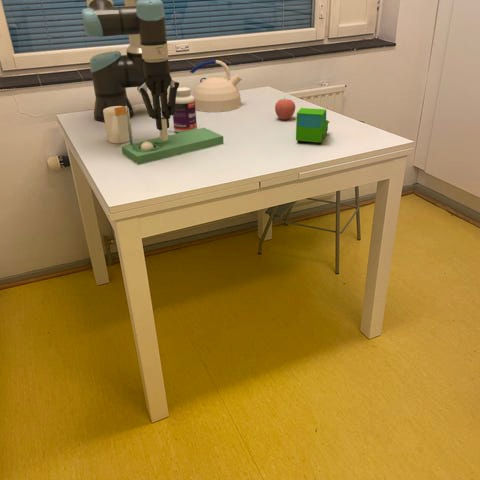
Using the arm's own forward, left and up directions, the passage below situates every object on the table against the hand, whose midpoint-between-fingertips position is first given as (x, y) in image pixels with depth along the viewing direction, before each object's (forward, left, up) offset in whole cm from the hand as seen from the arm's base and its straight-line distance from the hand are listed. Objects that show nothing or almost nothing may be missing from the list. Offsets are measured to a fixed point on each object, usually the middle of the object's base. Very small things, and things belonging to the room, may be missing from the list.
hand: (164, 139), depth 149 cm
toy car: (+20, +44, -4) cm, 48 cm away
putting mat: (0, +3, -4) cm, 5 cm away
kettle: (-36, +42, -4) cm, 55 cm away
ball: (0, -4, -3) cm, 5 cm away
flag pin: (-5, -11, -1) cm, 12 cm away
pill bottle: (-14, +15, -4) cm, 21 cm away
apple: (-3, +51, -4) cm, 51 cm away
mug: (-18, -8, -4) cm, 20 cm away
